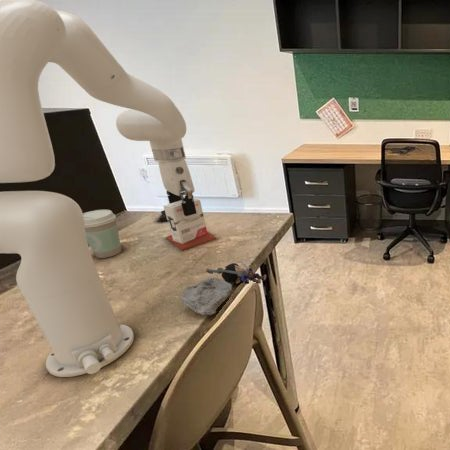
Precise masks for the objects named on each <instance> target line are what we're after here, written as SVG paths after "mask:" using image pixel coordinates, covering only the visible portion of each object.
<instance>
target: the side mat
mask: <svg viewBox="0 0 450 450" xmlns="http://www.w3.org/2000/svg"><path fill="white" fill-rule="evenodd" d="M165 239H166V240H168V241H169V242H170V243H171V244H172V245H174V246H176V248H178V249H179V250H181V251H185V250H188V249H191V248H194V247H196V246H200V245H203V244H206V243H209V242H211V241H215V240H217V237H216V236H215V235H213V234H211V233H210V232H208V231H207V234H206V235H203V236H201V237H198V238H196V239H193V240H191V241H188V242H186V243H184V244H181V243H178V242H176V241H173V238H172V234H171V235H168V236H165Z"/></svg>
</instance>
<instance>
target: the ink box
mask: <svg viewBox="0 0 450 450" xmlns="http://www.w3.org/2000/svg"><path fill="white" fill-rule="evenodd" d="M193 199H194V204H195V208H196V214H193V215H189V216H185V215H184V212H183V209H182V205H181V203H183V202H182V201H181V200H180V201H177V202H174V203H167V204H164V205H163V209H164V210H165V213H166V217H167V220H166V221H167V224H168V228H169V231H170V234H171V235H172V238H173V241H176V242H178V243H181V244H184V243H186V242H188V241H191V240H193V239H196V238H198V237H201V236H203V235H206V234H207V232H208V228H207V225H206V219H205V215H204V212H203V206H202V203H201V200H200V199H197V198H194V197H193Z"/></svg>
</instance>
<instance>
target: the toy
mask: <svg viewBox="0 0 450 450" xmlns="http://www.w3.org/2000/svg"><path fill="white" fill-rule="evenodd" d="M238 263H239V264H241V265H239V264H238ZM238 263H236V262H232V263H229V264H227V265H226V266H224V268H223V267H217V269H213V268H212V269H210V268H206V270H205V272H206V273H208V274H210V275H213V274H215V273H217V274H219V275H221V276H222V277H221V278H222V279H223V281H226V282H227V283H235V284H239V283H241V281H242V282H243V283H244V284H245V285H246V284H247V285H249V284H250V282H252V283H253V282H256V283H255V284H258V285H260V284H261V283H262V281H266V279H267V274H264V275H261V274H259V273H258V272H254V270H253V269H252V268H251V267H249V266H248V265H247V264H246V263H245V262H243V260H240V261H238Z"/></svg>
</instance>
